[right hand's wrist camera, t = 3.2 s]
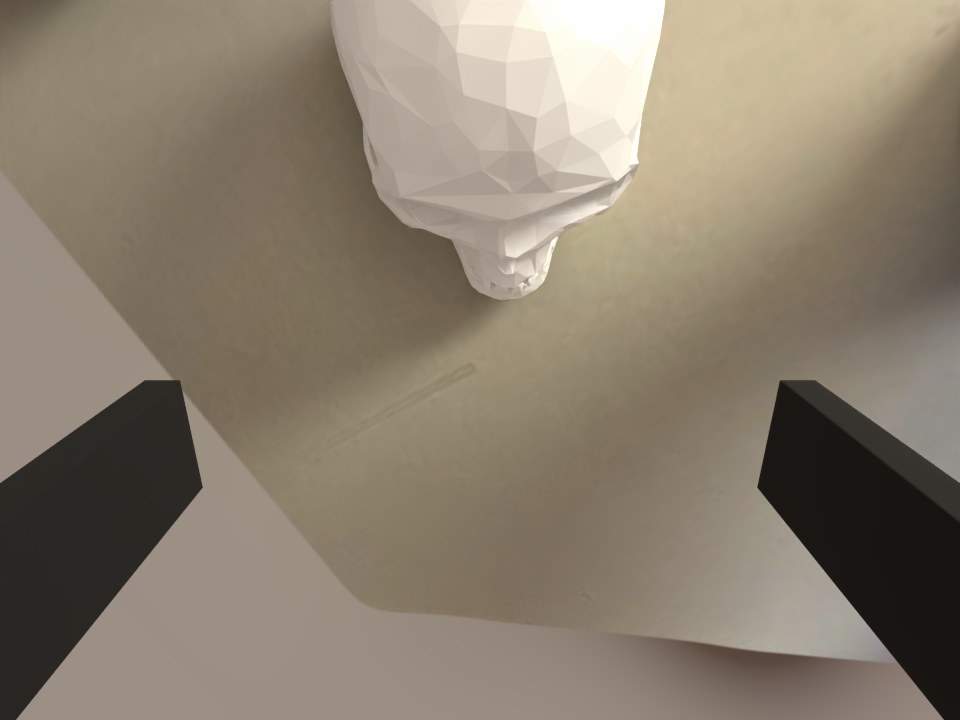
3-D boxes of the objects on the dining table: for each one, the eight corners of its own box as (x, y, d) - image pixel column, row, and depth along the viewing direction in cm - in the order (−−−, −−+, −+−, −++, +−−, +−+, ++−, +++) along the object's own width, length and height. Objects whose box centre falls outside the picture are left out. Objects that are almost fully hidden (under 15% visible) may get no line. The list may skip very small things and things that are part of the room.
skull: (417, 307, 36) (380, 417, 22) (339, -104, 29) (196, -375, 14) (622, 277, 36) (728, 369, 21) (598, -150, 28) (741, -481, 13)
